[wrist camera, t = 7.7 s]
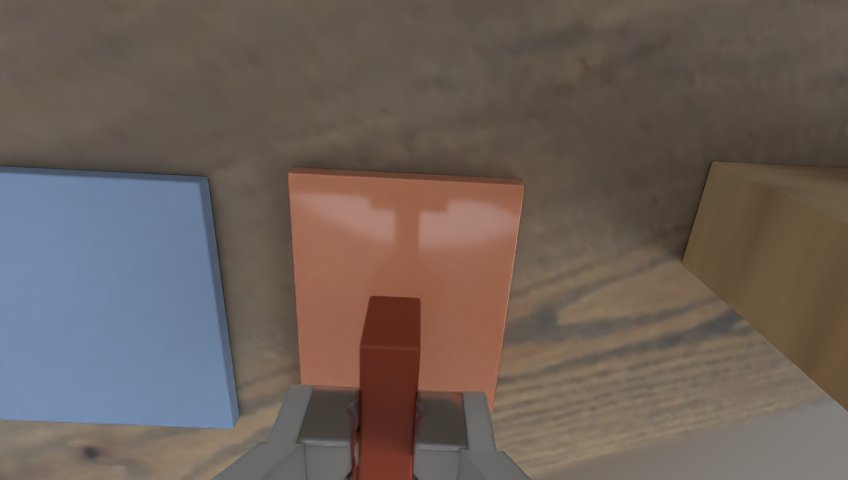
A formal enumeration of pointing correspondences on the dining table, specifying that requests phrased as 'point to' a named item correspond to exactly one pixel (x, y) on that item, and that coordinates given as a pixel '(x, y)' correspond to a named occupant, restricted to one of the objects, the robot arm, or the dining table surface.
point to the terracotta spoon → (388, 387)
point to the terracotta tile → (404, 269)
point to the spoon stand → (780, 259)
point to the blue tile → (112, 300)
